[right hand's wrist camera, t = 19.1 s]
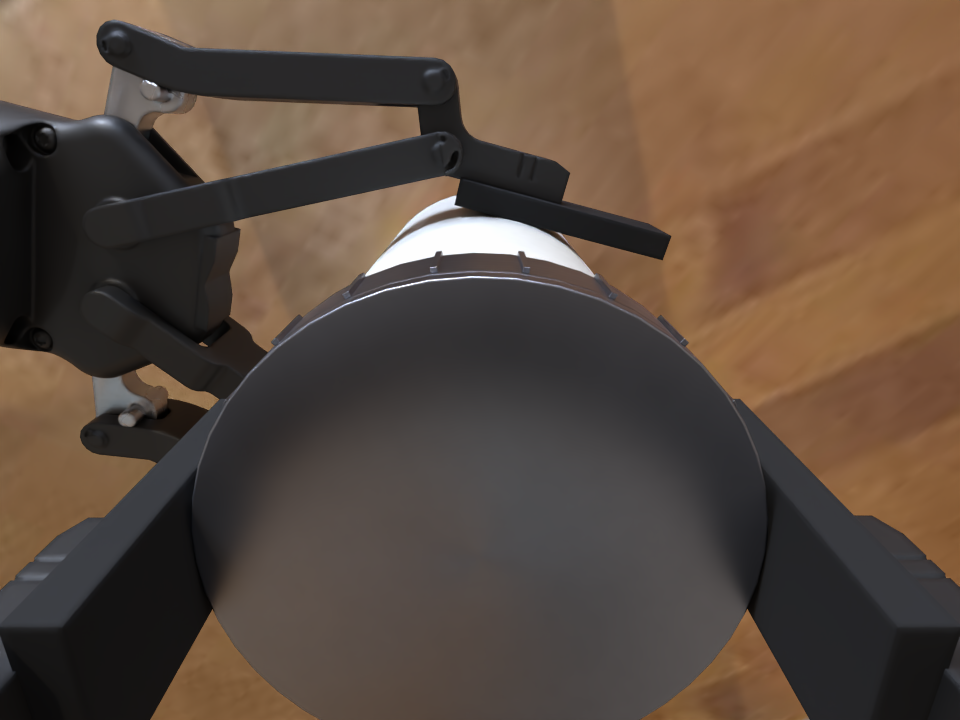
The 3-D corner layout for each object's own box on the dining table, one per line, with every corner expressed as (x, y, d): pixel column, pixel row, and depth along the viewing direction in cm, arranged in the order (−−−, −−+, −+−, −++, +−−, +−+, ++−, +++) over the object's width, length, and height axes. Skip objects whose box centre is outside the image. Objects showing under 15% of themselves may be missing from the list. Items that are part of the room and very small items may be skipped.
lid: (759, 625, 13) (803, 703, 11) (335, 718, 14) (314, 804, 12) (683, 177, 10) (726, 187, 8) (142, 336, 11) (75, 376, 9)
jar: (440, 151, 25) (370, 185, 9) (618, 259, 27) (829, 451, 11) (347, 329, 28) (163, 600, 12) (513, 417, 29) (554, 766, 13)
